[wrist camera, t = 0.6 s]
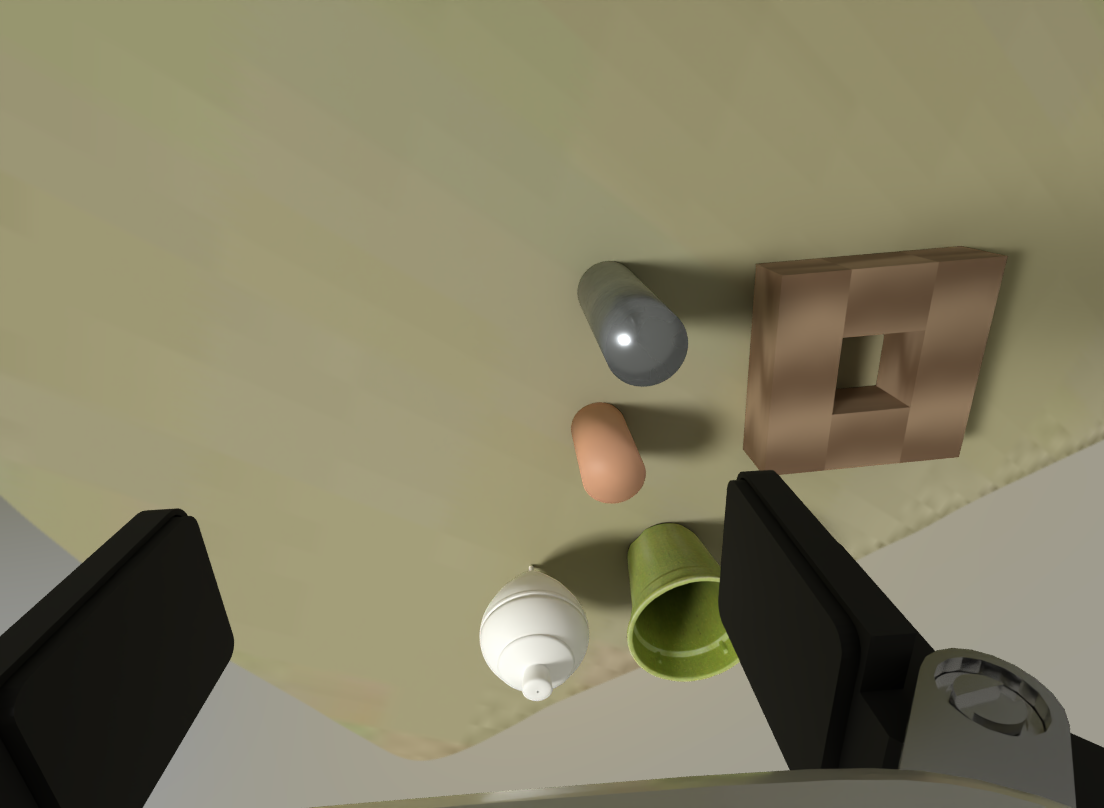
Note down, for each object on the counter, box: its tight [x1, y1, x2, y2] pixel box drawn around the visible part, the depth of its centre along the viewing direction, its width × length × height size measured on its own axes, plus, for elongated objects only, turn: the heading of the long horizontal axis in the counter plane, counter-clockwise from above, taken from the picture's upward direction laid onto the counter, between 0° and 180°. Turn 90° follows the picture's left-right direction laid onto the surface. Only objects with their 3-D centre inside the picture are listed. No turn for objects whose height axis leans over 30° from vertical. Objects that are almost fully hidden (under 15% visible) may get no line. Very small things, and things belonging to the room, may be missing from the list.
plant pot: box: [627, 523, 740, 682], centre depth 44 cm, size 9×9×9 cm
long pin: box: [578, 261, 688, 387], centre depth 33 cm, size 4×4×12 cm
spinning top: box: [480, 565, 589, 701], centre depth 42 cm, size 8×8×12 cm
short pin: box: [571, 402, 646, 503], centre depth 39 cm, size 4×4×7 cm
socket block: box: [743, 246, 1008, 475], centre depth 40 cm, size 14×14×4 cm
